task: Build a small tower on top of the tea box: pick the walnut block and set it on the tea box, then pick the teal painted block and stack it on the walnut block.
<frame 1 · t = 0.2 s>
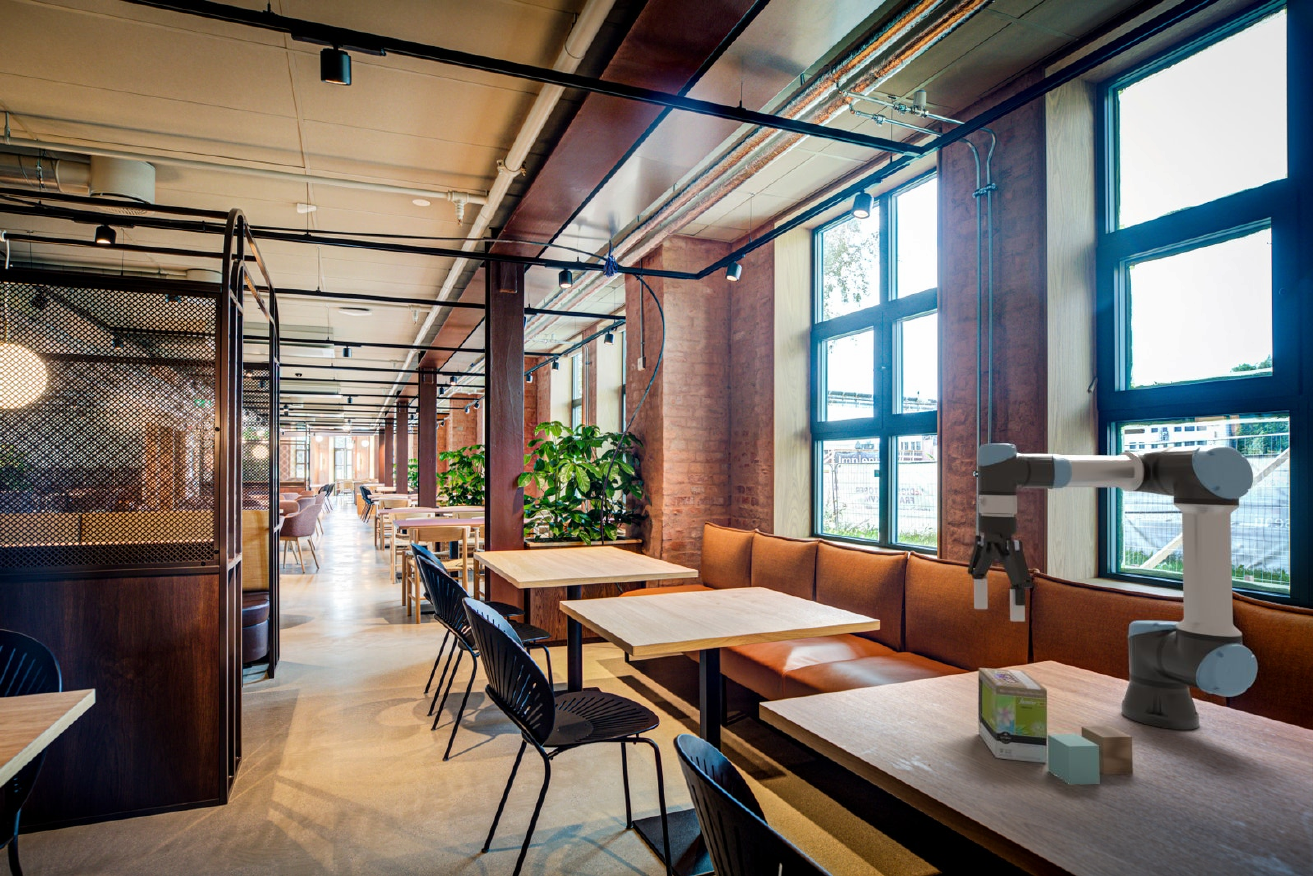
hand: (998, 614, 152), 27 cm above the table, fingers open, 13 cm apart
teal block: (1073, 777, 135), on the table
tea box: (1011, 749, 149), on the table
walnut block: (1106, 767, 140), on the table
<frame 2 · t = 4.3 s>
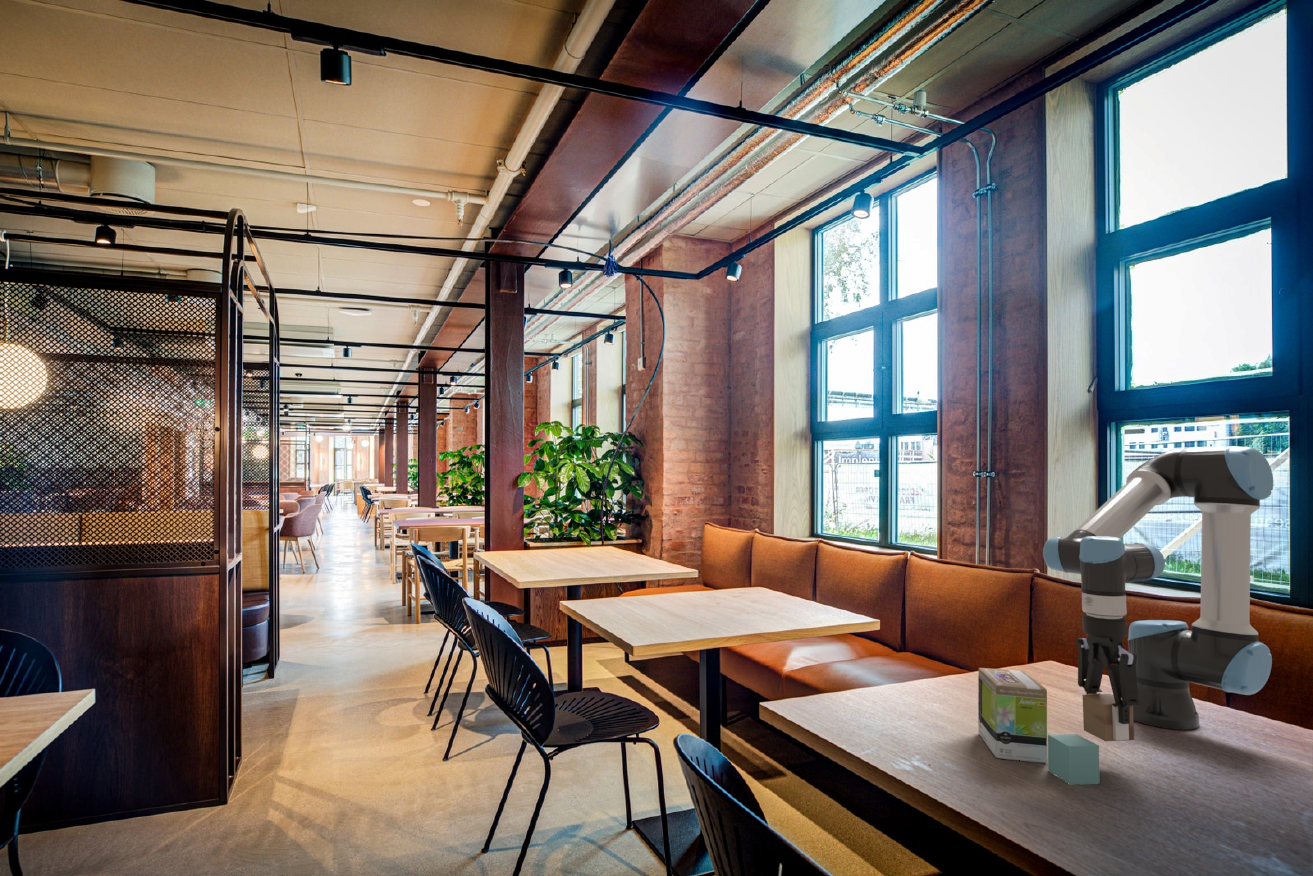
hand: (1108, 732, 140), 7 cm above the table, fingers closed on walnut block, 6 cm apart
walnut block: (1108, 735, 140), point 6 cm above the table, touching gripper
everything else where it was.
when the fingers open (16 cm above the table, at t = 7.7 s): walnut block drops 1 cm, resting on tea box.
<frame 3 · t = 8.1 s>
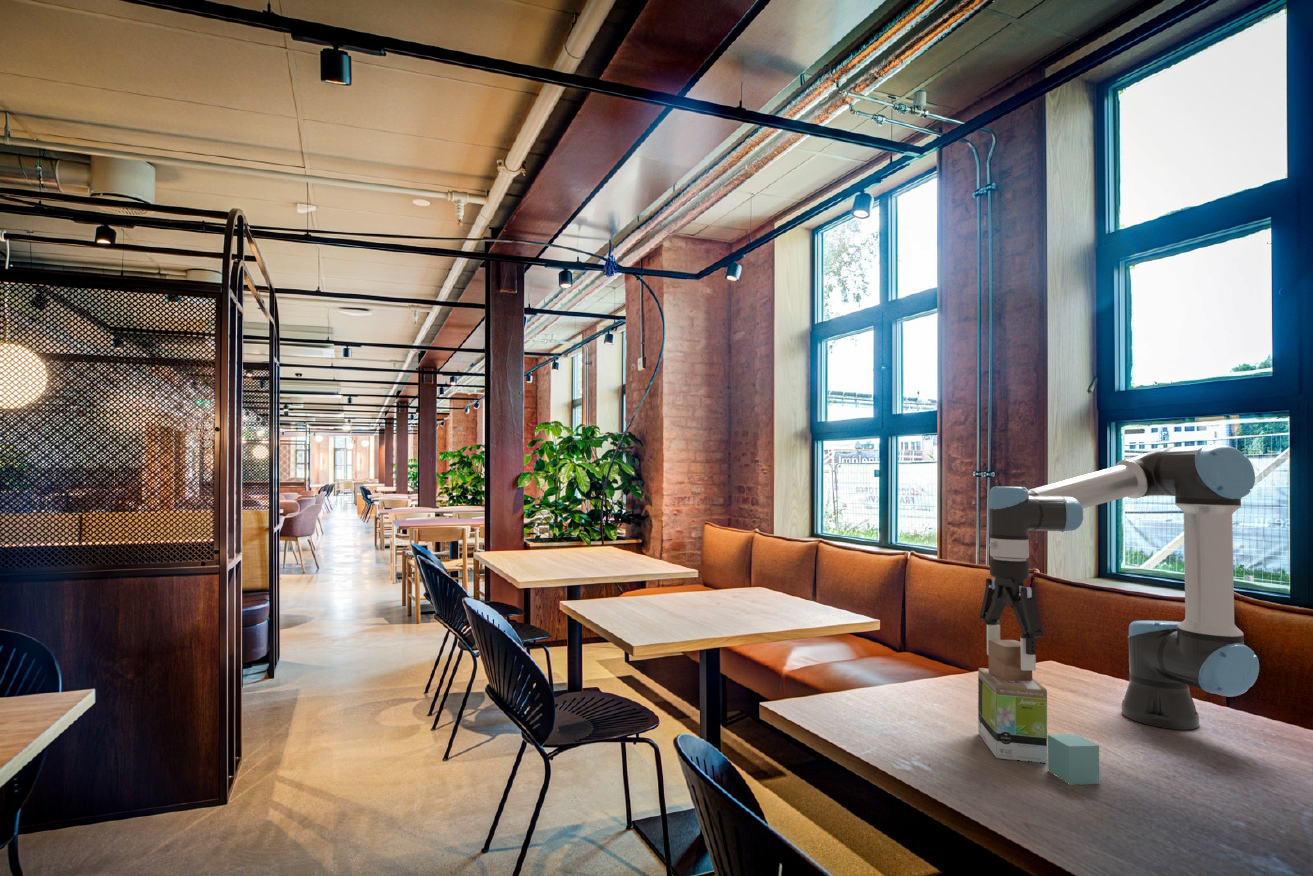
hand: (1010, 662, 150), 18 cm above the table, fingers open, 11 cm apart
tea box: (1011, 749, 149), on the table, touching walnut block
walnut block: (1010, 676, 150), point 15 cm above the table, touching tea box
everything else where it was.
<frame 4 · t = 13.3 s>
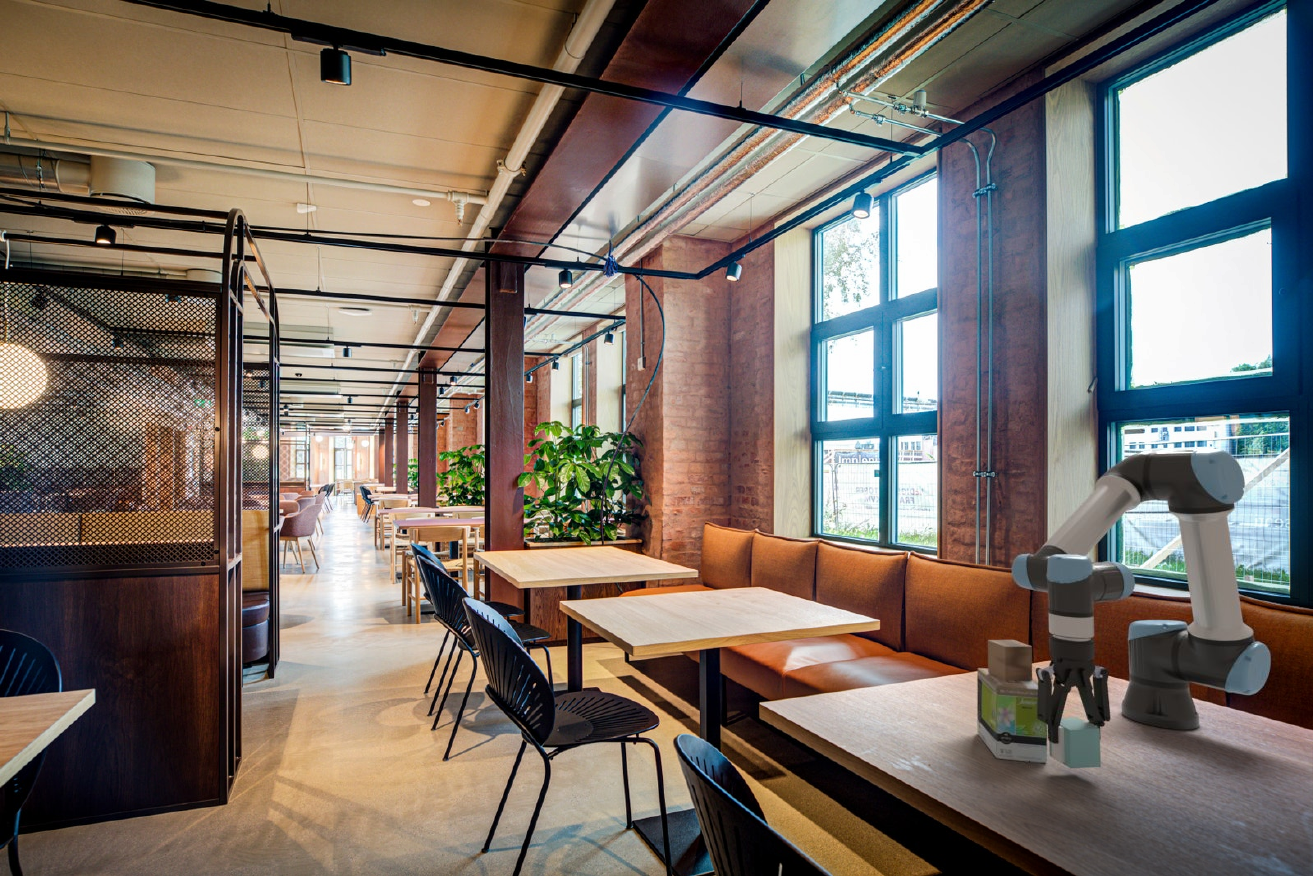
hand: (1074, 759, 135), 3 cm above the table, fingers closed on teal block, 6 cm apart
teal block: (1074, 761, 135), point 3 cm above the table, touching gripper
everything else where it was.
when the fingers open (23 cm above the table, at t = 17.2 s): teal block drops 1 cm, resting on walnut block.
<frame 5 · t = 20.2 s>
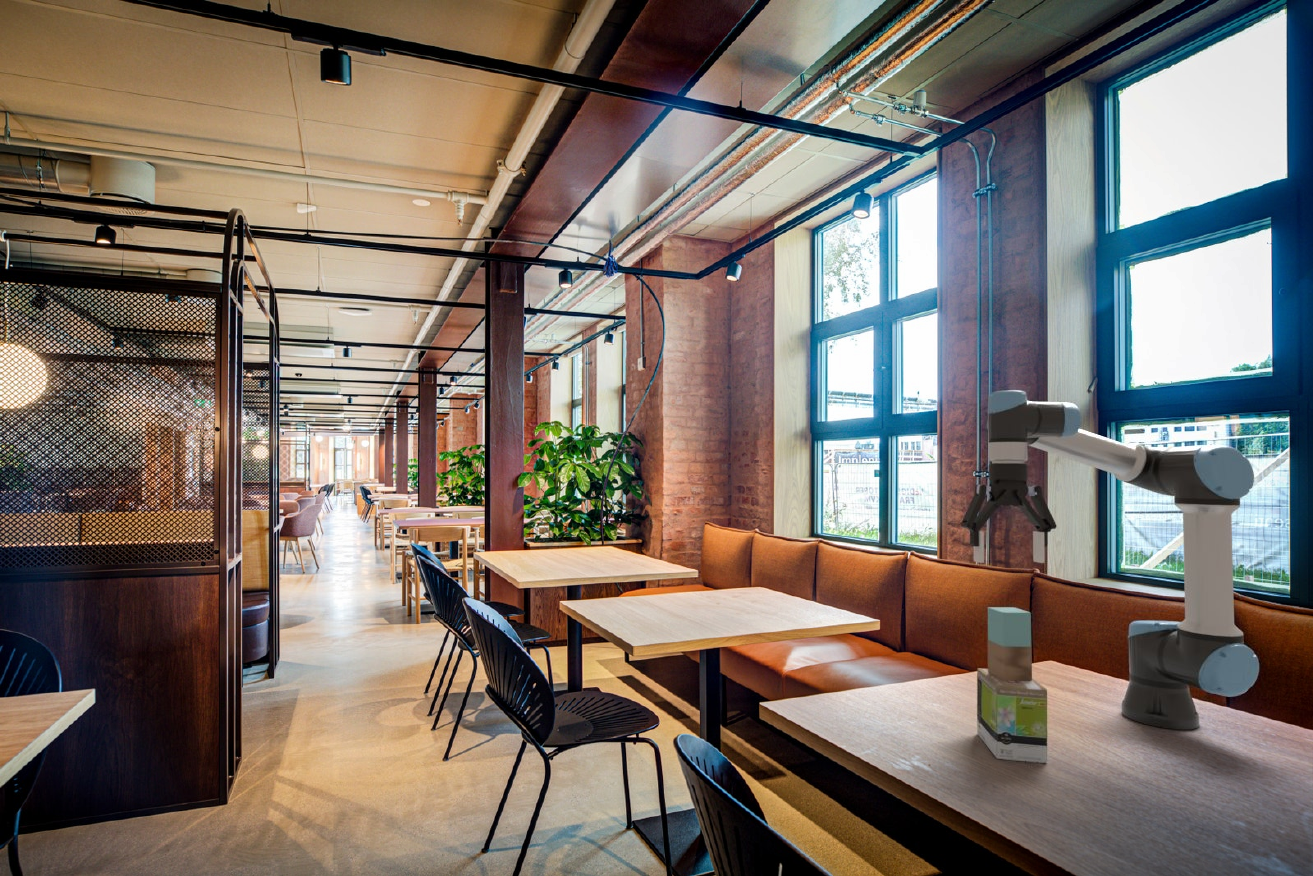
hand: (1009, 562, 151), 39 cm above the table, fingers open, 13 cm apart
teal block: (1009, 643, 150), point 22 cm above the table, touching walnut block
walnut block: (1009, 677, 150), point 15 cm above the table, touching tea box, teal block
everything else where it was.
at the end: walnut block inside the target area on the tea box (0.0 cm from its centre), point 15.0 cm above the tea box's base; teal block 0.0 cm off-centre on the walnut block, point 7.0 cm above the walnut block's base; teal block tilted 0° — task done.
